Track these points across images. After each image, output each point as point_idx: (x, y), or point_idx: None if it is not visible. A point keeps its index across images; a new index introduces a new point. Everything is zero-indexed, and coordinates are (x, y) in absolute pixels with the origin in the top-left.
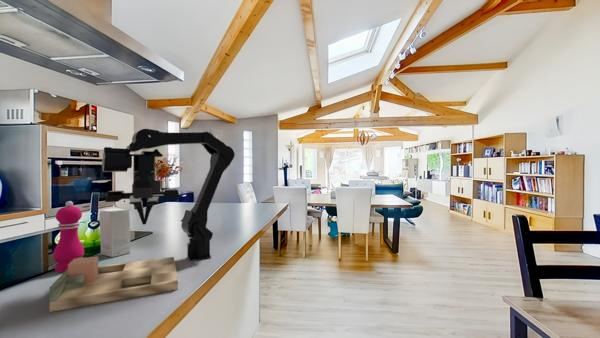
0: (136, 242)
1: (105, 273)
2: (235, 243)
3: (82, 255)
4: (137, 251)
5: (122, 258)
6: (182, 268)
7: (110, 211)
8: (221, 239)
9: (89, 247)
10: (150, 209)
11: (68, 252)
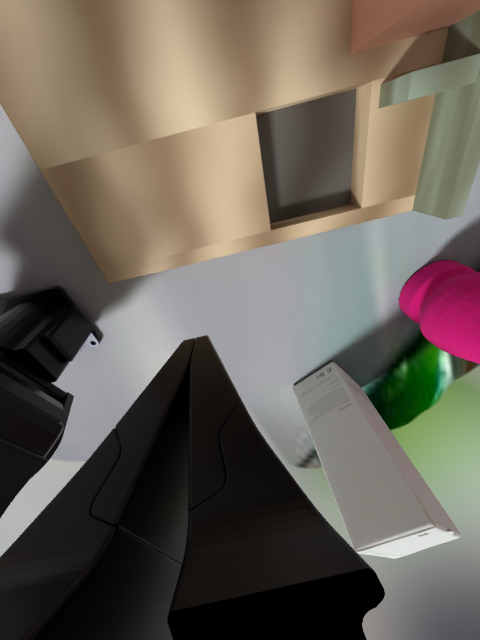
0: (295, 449)
1: (324, 91)
2: None
3: (424, 309)
4: (277, 395)
5: (303, 349)
6: (40, 196)
7: (435, 526)
8: (77, 457)
9: None
10: (63, 495)
11: None
